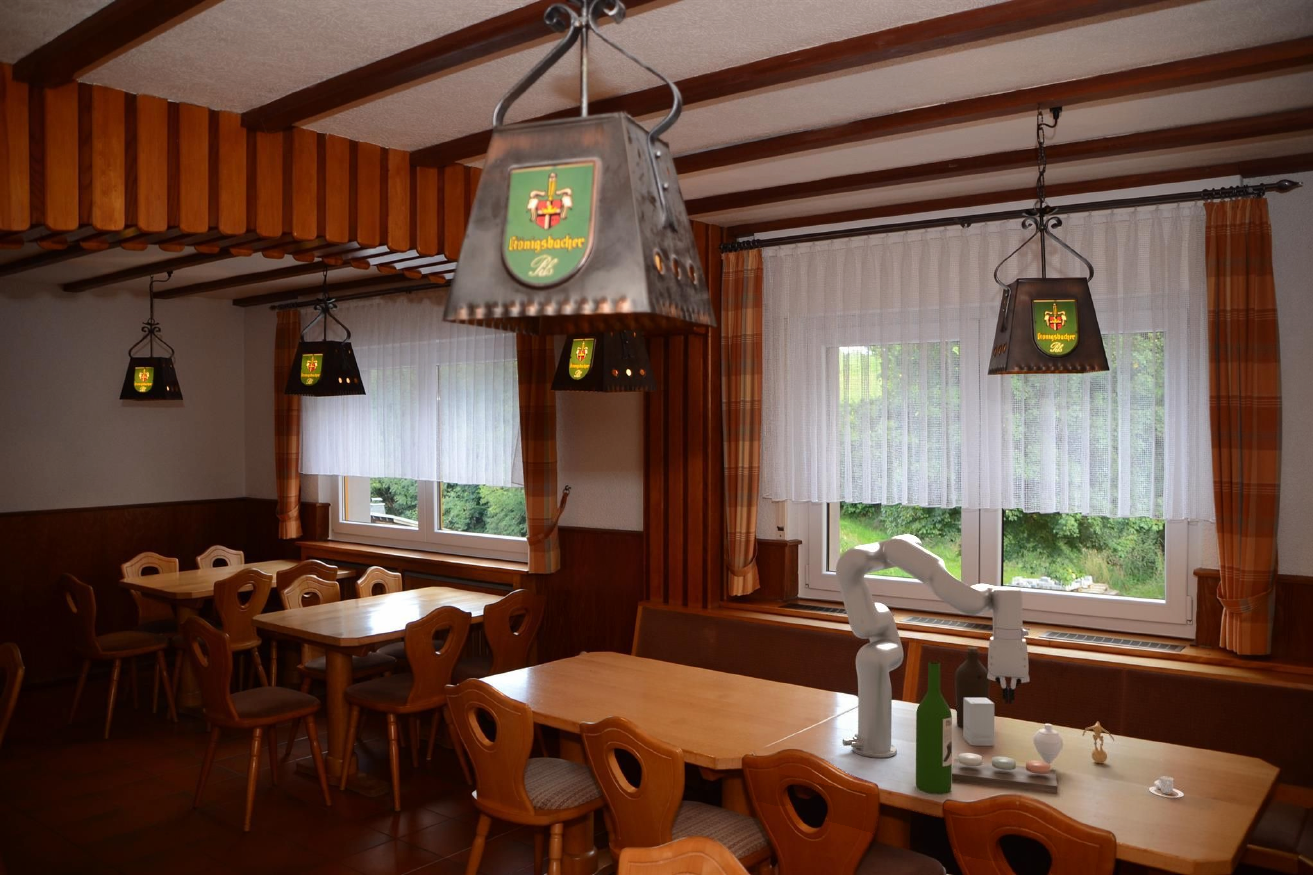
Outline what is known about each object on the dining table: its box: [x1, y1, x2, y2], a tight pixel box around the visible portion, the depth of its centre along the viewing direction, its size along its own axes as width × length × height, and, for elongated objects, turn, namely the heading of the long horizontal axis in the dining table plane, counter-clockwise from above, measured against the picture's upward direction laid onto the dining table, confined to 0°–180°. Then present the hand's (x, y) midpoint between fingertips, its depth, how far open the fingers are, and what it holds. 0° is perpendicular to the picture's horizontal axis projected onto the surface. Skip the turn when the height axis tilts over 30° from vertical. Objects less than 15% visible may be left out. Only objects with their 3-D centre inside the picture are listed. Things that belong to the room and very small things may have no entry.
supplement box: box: [962, 698, 995, 747], centre depth 290 cm, size 7×7×13 cm
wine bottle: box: [915, 661, 953, 795], centre depth 251 cm, size 9×9×32 cm
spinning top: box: [1032, 723, 1064, 765], centre depth 268 cm, size 8×8×12 cm
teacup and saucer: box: [1148, 775, 1185, 799], centre depth 250 cm, size 9×8×4 cm
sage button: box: [991, 756, 1017, 770], centre depth 258 cm, size 6×6×2 cm
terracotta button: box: [1025, 760, 1051, 774], centre depth 255 cm, size 6×6×2 cm
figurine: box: [1081, 721, 1115, 764], centre depth 271 cm, size 8×6×12 cm
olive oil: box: [954, 646, 991, 729], centre depth 307 cm, size 11×11×25 cm
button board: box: [951, 758, 1058, 795], centre depth 258 cm, size 13×26×2 cm, turn 70°
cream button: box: [958, 752, 983, 766], centre depth 261 cm, size 6×6×2 cm
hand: (1008, 702), depth 257 cm, fingers closed
